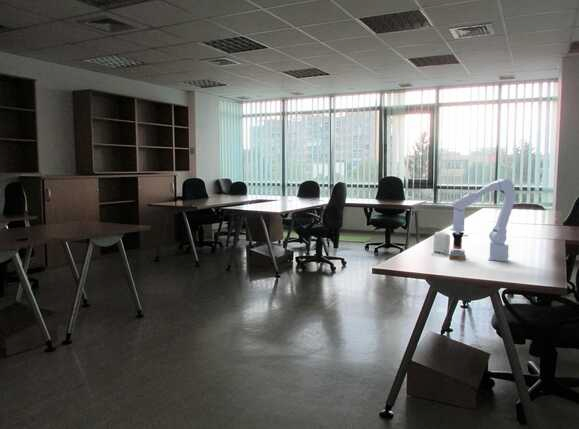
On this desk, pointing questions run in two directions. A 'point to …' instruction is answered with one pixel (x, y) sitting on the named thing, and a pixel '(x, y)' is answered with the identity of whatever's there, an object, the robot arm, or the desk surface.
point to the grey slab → (457, 252)
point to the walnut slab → (457, 257)
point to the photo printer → (441, 242)
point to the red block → (456, 246)
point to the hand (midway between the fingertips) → (457, 245)
